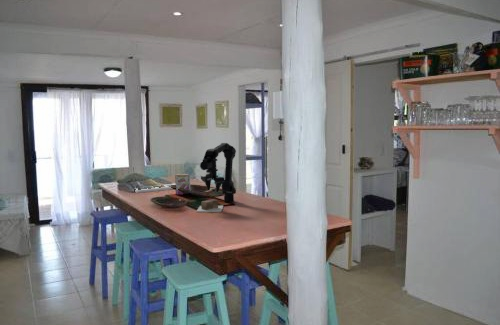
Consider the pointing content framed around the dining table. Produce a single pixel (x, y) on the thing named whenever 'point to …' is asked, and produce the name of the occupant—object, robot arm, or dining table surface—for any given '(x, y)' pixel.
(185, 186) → the candy bar box
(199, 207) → the grey mat
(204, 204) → the walnut block
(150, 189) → the holder
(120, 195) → the dining table surface
